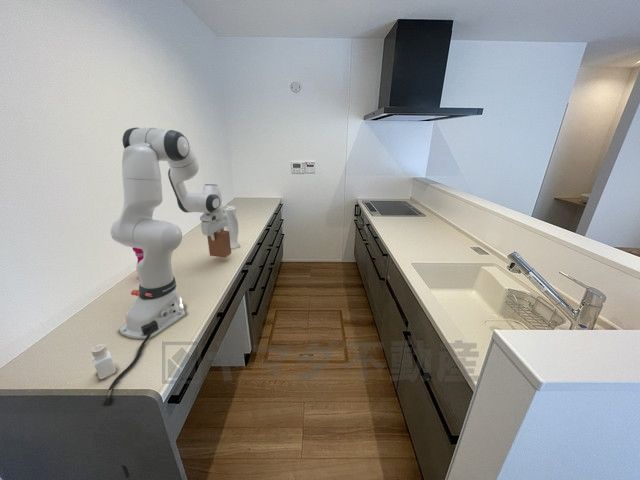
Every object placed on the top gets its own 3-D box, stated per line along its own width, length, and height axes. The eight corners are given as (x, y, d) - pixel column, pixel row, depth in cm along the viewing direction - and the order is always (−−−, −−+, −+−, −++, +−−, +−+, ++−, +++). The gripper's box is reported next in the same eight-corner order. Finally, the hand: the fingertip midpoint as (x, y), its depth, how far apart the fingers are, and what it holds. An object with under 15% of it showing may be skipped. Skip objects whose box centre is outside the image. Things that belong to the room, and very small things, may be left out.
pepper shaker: (100, 380, 76) (90, 355, 72) (97, 373, 78) (88, 348, 75) (117, 372, 79) (108, 347, 75) (113, 365, 81) (105, 340, 78)
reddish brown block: (222, 233, 142) (206, 231, 144) (225, 257, 147) (209, 255, 149) (228, 229, 147) (213, 228, 149) (231, 253, 152) (216, 251, 154)
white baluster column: (230, 250, 166) (225, 206, 156) (225, 246, 171) (220, 204, 161) (241, 247, 171) (238, 205, 160) (236, 243, 176) (233, 202, 166)
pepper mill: (147, 280, 128) (138, 242, 121) (134, 279, 129) (124, 241, 122) (158, 273, 135) (150, 237, 127) (146, 272, 136) (137, 236, 129)
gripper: (220, 208, 152) (223, 231, 157) (197, 218, 133) (201, 243, 138) (230, 209, 151) (232, 232, 156) (208, 219, 132) (211, 244, 137)
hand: (217, 237), depth 147 cm, fingers closed on reddish brown block, 6 cm apart
